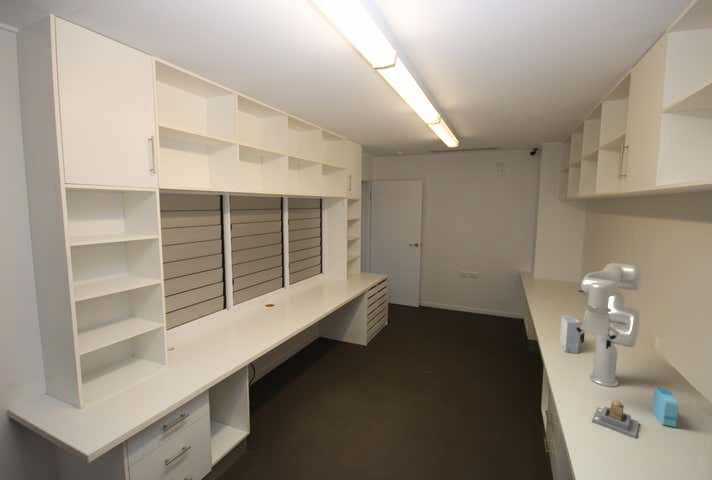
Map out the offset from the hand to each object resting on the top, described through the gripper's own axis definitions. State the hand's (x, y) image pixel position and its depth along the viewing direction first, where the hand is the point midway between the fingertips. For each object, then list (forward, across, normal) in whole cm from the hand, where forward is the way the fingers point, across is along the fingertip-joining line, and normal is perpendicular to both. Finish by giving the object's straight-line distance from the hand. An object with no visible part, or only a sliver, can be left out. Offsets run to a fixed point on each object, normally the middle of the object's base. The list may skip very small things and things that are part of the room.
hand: (594, 344), depth 161 cm
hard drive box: (+31, +21, -64) cm, 74 cm away
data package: (+30, -26, -8) cm, 41 cm away
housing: (+29, -11, +10) cm, 33 cm away
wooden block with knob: (+28, -11, +10) cm, 32 cm away
